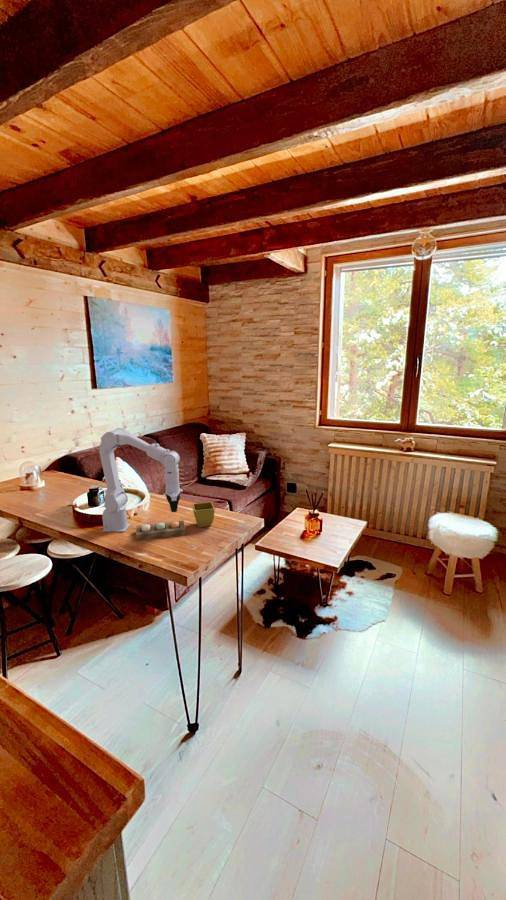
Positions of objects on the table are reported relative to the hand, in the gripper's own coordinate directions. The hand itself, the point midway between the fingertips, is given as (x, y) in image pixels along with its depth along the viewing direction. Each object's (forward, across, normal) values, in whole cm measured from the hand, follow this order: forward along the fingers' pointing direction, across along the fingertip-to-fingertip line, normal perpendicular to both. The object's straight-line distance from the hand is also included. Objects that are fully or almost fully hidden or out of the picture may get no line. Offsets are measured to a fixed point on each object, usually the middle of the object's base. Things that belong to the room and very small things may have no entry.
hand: (174, 511), depth 160 cm
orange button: (+8, 0, 0) cm, 8 cm away
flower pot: (+10, +3, -13) cm, 16 cm away
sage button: (+8, 0, +6) cm, 10 cm away
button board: (+9, 0, +6) cm, 11 cm away
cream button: (+8, 0, +12) cm, 14 cm away
